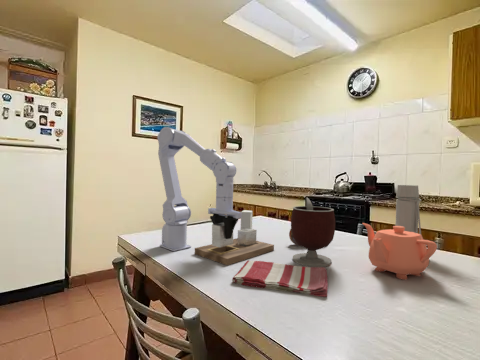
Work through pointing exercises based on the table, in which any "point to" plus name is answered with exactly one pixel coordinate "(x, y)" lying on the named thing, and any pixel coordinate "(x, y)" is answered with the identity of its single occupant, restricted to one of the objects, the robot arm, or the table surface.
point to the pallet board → (233, 252)
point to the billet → (220, 236)
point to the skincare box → (246, 219)
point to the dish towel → (283, 277)
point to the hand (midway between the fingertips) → (223, 237)
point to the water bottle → (408, 208)
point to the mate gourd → (312, 233)
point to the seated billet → (247, 237)
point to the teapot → (399, 251)
